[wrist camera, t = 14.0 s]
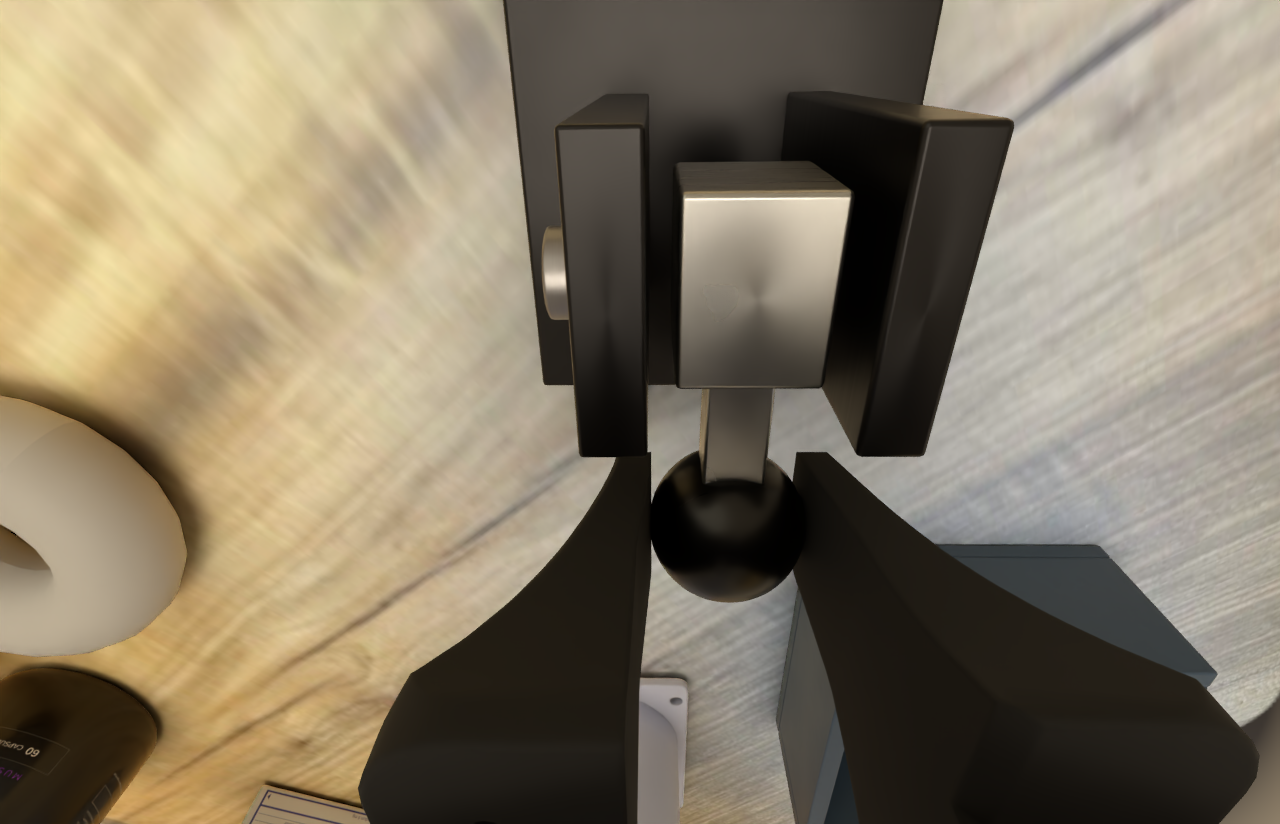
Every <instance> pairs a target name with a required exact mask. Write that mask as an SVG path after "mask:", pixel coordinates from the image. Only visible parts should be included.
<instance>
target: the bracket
mask: <svg viewBox="0 0 1280 824" xmlns="http://www.w3.org/2000/svg"><path fill="white" fill-rule="evenodd" d="M503 5H504V15H505V24H506V34H507V43H508V53H509V62H510V71H511V81H512V90H513V100H514V109H515V119H516V128H517V138H518V147H519V157H520V166H521V176H522V185H523V194H524V204H525V213H526V223H527V232H528V242H529V251H530V261H531V270H532V280H533V289H534V298H535V308H536V317H537V327H538V336H539V346H540V355H541V365H542V374H543V382H544V384H545V385H574V395H575V408H576V421H577V434H578V447H579V454H580V456H581V457H645V456H646V455H647V453H648V385H675V382H674V366H673V351H672V335H671V275H672V207H673V168H674V165H675V164H677V163H679V162H766V161H810V162H812V163H814V164H815V165H817V166H818V167H819V168H821V169H822V170H824V171H825V172H826V173H828V174H829V175H831V176H832V177H834V178H835V179H836V180H838V181H839V182H841V183H842V184H843V185H845V186H846V187H848V188H849V189H850V190H852V191H853V192H854V195H855V201H854V207H853V213H852V219H851V225H850V231H849V237H848V243H847V249H846V255H845V261H844V267H843V273H842V279H841V285H840V291H839V297H838V303H837V309H836V315H835V321H834V327H833V333H832V339H831V345H830V351H829V357H828V363H827V369H826V375H825V381H824V384H823V386H822V389H823V391H824V393H825V395H826V397H827V399H828V401H829V403H830V405H831V406H832V408H833V410H834V412H835V414H836V416H837V418H838V420H839V422H840V424H841V426H842V428H843V429H844V431H845V433H846V435H847V437H848V439H849V441H850V443H851V445H852V447H853V449H854V451H855V453H856V454H857V455H858V456H862V457H920V456H923V455H924V454H925V451H926V448H927V444H928V440H929V437H930V433H931V429H932V426H933V422H934V418H935V415H936V411H937V407H938V404H939V400H940V396H941V393H942V389H943V386H944V382H945V378H946V375H947V371H948V367H949V364H950V360H951V356H952V353H953V349H954V345H955V342H956V338H957V334H958V331H959V327H960V323H961V320H962V316H963V312H964V309H965V305H966V301H967V298H968V294H969V290H970V287H971V283H972V279H973V276H974V272H975V268H976V265H977V261H978V257H979V254H980V250H981V246H982V243H983V239H984V236H985V232H986V228H987V225H988V221H989V217H990V214H991V210H992V206H993V203H994V199H995V195H996V192H997V188H998V184H999V181H1000V177H1001V173H1002V170H1003V166H1004V162H1005V159H1006V155H1007V151H1008V148H1009V144H1010V140H1011V137H1012V133H1013V129H1014V122H1013V121H1012V120H1010V119H1008V118H1004V117H998V116H991V115H985V114H978V113H971V112H965V111H958V110H952V109H945V108H938V107H932V106H925V105H923V100H924V95H925V90H926V85H927V80H928V75H929V70H930V65H931V60H932V55H933V50H934V45H935V40H936V35H937V30H938V25H939V20H940V15H941V10H942V5H943V0H503Z"/></svg>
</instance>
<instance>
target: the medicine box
mask: <svg viewBox="0 0 1280 824" xmlns="http://www.w3.org/2000/svg"><path fill="white" fill-rule="evenodd" d="M242 824H370V822H369V820H368V818H367V816H366V813H365V811H364V809H361V808H357V807H353V806H349V805H345V804H341V803H337V802H333V801H329V800H325V799H320V798H317V797H313V796H309V795H305V794H301V793H297V792H293V791H288V790H284V789H280V788H276V787H272V786H269V785H262V786H261V788H260V790H259V792H258V793H257V795H256V797H255V799H254V801H253V803H252V805H251V806H250V808H249V810H248V812H247V814H246V816H245V818H244V820H243V822H242Z"/></svg>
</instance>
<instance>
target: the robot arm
mask: <svg viewBox="0 0 1280 824" xmlns="http://www.w3.org/2000/svg"><path fill="white" fill-rule="evenodd" d="M793 484H794V485H795V487H796V489H797V491H798V493H799V496H800V498H801V501H802V504H803V508H804V513H805V525H806V530H805V539H804V544H803V548H802V551H801V554H800V556H799V558H798V561H797V563H796V564H795V566H794V568H793V571H794V575H795V578H796V582H797V585H798V588H799V591H800V594H801V597H802V600H803V603H804V606H805V609H806V612H807V615H808V618H809V621H810V624H811V627H812V630H813V633H814V636H815V639H816V642H817V645H818V648H819V651H820V655H821V658H822V661H823V664H824V667H825V670H826V673H827V677H828V680H829V684H830V687H831V691H832V695H833V699H834V704H835V708H836V713H837V717H838V722H839V726H840V731H841V736H842V740H843V745H844V750H845V755H846V760H847V765H848V770H849V774H850V779H851V784H852V789H853V794H854V799H855V805H856V810H857V816H858V821H859V824H1219V823H1220V822H1221V821H1222V819H1223V818H1224V817H1225V816H1226V815H1227V814H1228V813H1229V812H1230V810H1231V809H1232V808H1233V807H1234V806H1235V805H1236V804H1237V803H1238V802H1239V800H1240V799H1241V798H1242V797H1243V796H1244V795H1245V794H1246V792H1247V791H1248V789H1249V788H1250V786H1251V785H1252V783H1253V782H1254V780H1255V778H1256V775H1257V771H1258V763H1259V753H1258V751H1257V749H1256V747H1255V745H1254V743H1253V741H1252V740H1251V739H1250V738H1249V737H1248V735H1247V734H1246V733H1245V732H1244V731H1243V730H1242V729H1241V728H1240V727H1239V725H1238V724H1237V723H1236V722H1235V721H1234V720H1233V719H1232V718H1231V716H1230V715H1229V714H1228V713H1227V712H1226V711H1225V710H1224V709H1223V708H1222V706H1221V705H1220V704H1219V703H1218V702H1217V701H1216V700H1215V699H1214V697H1213V696H1212V695H1211V694H1210V693H1209V692H1208V691H1207V690H1206V689H1205V687H1204V686H1203V685H1202V684H1201V683H1200V682H1199V681H1198V680H1197V679H1195V678H1193V677H1190V676H1188V675H1186V674H1183V673H1181V672H1178V671H1176V670H1173V669H1171V668H1169V667H1166V666H1164V665H1161V664H1159V663H1156V662H1154V661H1151V660H1149V659H1147V658H1144V657H1142V656H1139V655H1137V654H1134V653H1132V652H1130V651H1127V650H1125V649H1122V648H1120V647H1117V646H1115V645H1113V644H1111V643H1108V642H1106V641H1104V640H1102V639H1100V638H1098V637H1096V636H1094V635H1091V634H1089V633H1087V632H1085V631H1083V630H1081V629H1079V628H1077V627H1075V626H1072V625H1070V624H1068V623H1066V622H1064V621H1062V620H1060V619H1058V618H1056V617H1054V616H1052V615H1050V614H1048V613H1047V612H1045V611H1043V610H1041V609H1039V608H1037V607H1035V606H1033V605H1031V604H1030V603H1028V602H1026V601H1024V600H1023V599H1021V598H1019V597H1017V596H1015V595H1014V594H1012V593H1010V592H1008V591H1006V590H1005V589H1003V588H1001V587H999V586H998V585H996V584H994V583H993V582H991V581H989V580H988V579H986V578H984V577H983V576H981V575H980V574H978V573H977V572H975V571H974V570H972V569H971V568H969V567H967V566H966V565H964V564H963V563H961V562H960V561H958V560H957V559H955V558H954V557H952V556H951V555H949V554H948V553H946V552H945V551H944V550H942V549H941V548H939V547H938V546H937V545H935V544H934V543H932V542H931V541H930V540H929V539H927V538H926V537H925V536H923V535H922V534H921V533H919V532H918V531H917V530H916V529H914V528H913V527H912V526H910V525H909V524H908V523H907V522H905V521H904V520H903V519H902V518H900V517H899V516H898V515H897V514H896V513H894V512H893V511H892V510H891V509H890V508H888V507H887V506H886V505H885V504H884V503H883V502H881V501H880V500H879V499H878V498H877V497H876V496H875V495H873V494H872V493H871V492H870V491H869V490H868V489H867V488H866V487H865V486H863V485H862V484H861V483H860V482H859V481H858V480H857V479H856V478H855V477H854V476H852V475H851V474H850V473H849V472H848V471H847V470H846V469H845V468H844V467H843V466H842V465H841V464H839V463H838V462H837V461H836V460H835V459H834V458H833V457H832V456H831V455H829V454H828V453H827V452H797V453H796V461H795V468H794V475H793ZM650 526H651V452H648V453H647V455H646V456H645V457H616V459H615V462H614V465H613V467H612V469H611V472H610V474H609V476H608V478H607V480H606V481H605V483H604V485H603V487H602V489H601V491H600V492H599V494H598V496H597V497H596V499H595V500H594V502H593V504H592V505H591V507H590V509H589V510H588V512H587V513H586V515H585V516H584V518H583V519H582V520H581V522H580V523H579V525H578V526H577V527H576V529H575V530H574V531H573V533H572V534H571V536H570V537H569V538H568V540H567V541H566V542H565V543H564V545H563V546H562V547H561V548H560V550H559V551H558V552H557V553H556V554H555V556H554V557H553V558H552V559H551V560H550V561H549V562H548V564H547V565H546V566H545V567H544V568H543V569H542V570H541V571H540V572H539V573H538V574H537V575H536V576H535V577H534V578H533V579H532V580H531V581H530V582H529V583H528V584H527V585H526V586H525V587H524V588H523V589H522V590H521V591H520V592H519V593H518V594H517V595H516V596H515V597H514V598H513V599H512V600H511V601H510V602H509V603H507V604H506V605H505V606H504V607H503V608H502V609H500V610H499V611H498V612H497V613H496V614H494V615H493V616H492V617H491V618H489V619H488V620H487V621H486V622H484V623H483V624H482V625H481V626H480V627H478V628H477V629H476V630H475V631H473V632H472V633H471V634H470V635H468V636H467V637H466V638H464V639H463V640H462V641H460V642H459V643H457V644H456V645H454V646H453V647H451V648H450V649H448V650H447V651H445V652H444V653H442V654H441V655H439V656H438V657H436V658H435V659H433V660H432V661H430V662H429V663H427V664H426V665H424V666H423V667H421V668H419V669H418V670H416V671H414V672H413V673H411V674H410V676H409V678H408V679H407V681H406V683H405V684H404V686H403V688H402V690H401V691H400V693H399V695H398V697H397V698H396V700H395V702H394V704H393V706H392V708H391V709H390V711H389V713H388V715H387V717H386V718H385V720H384V723H383V725H382V727H381V729H380V732H379V734H378V736H377V739H376V741H375V744H374V746H373V749H372V751H371V754H370V756H369V759H368V761H367V764H366V766H365V769H364V771H363V774H362V777H361V780H360V784H359V787H358V791H359V796H360V800H361V805H362V807H363V809H364V811H365V813H366V816H367V818H368V820H369V822H370V824H680V808H681V807H682V806H683V804H684V784H685V761H686V739H687V717H688V694H689V692H688V684H687V682H686V681H685V680H682V679H680V678H640V674H641V663H642V653H643V644H644V635H645V626H646V617H647V607H648V598H649V589H650V579H651V533H650Z"/></svg>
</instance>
